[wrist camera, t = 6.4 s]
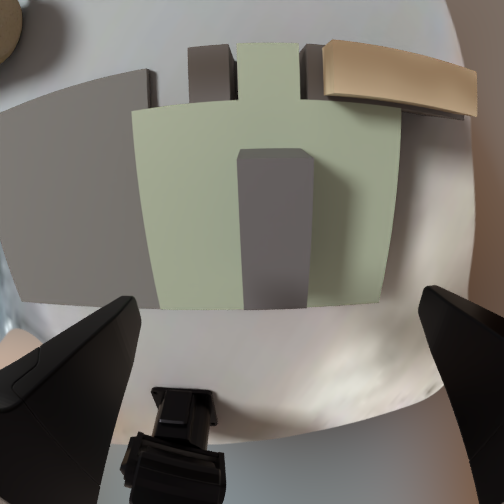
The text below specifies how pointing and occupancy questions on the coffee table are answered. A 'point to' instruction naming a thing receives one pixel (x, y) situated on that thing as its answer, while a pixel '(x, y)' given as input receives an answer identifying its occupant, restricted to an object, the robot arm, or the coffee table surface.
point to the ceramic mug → (9, 27)
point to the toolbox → (311, 79)
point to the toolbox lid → (267, 193)
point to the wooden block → (397, 77)
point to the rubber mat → (76, 195)
